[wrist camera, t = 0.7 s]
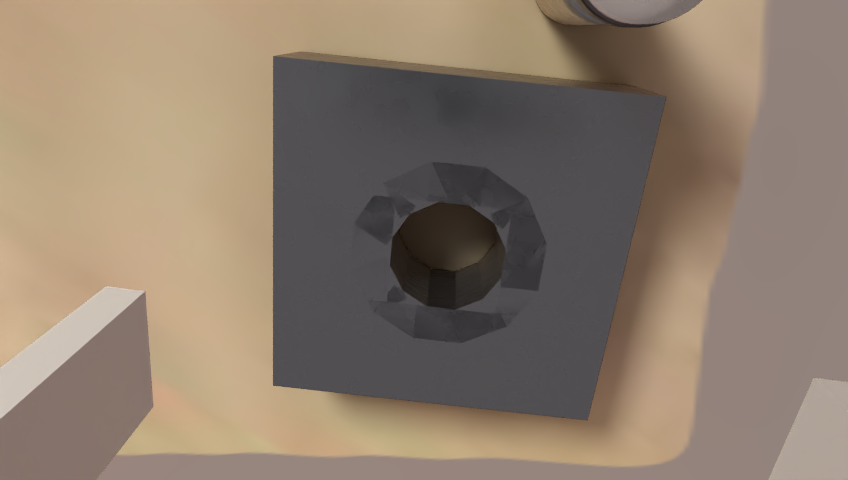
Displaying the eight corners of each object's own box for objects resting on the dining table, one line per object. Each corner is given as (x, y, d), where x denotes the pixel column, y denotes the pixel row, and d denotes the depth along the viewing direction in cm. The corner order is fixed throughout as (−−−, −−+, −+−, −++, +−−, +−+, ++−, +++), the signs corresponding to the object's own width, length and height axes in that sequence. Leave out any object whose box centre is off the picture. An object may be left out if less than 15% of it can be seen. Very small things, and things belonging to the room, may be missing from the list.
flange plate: (300, 51, 31) (273, 56, 26) (633, 86, 30) (666, 96, 26) (295, 340, 37) (273, 385, 32) (570, 370, 37) (587, 420, 32)
